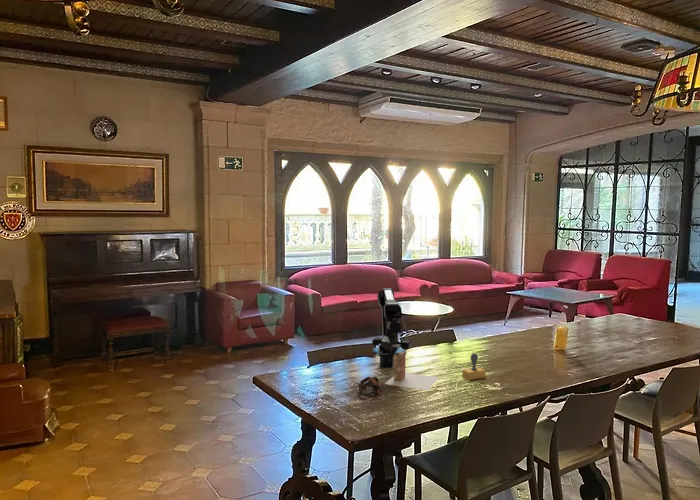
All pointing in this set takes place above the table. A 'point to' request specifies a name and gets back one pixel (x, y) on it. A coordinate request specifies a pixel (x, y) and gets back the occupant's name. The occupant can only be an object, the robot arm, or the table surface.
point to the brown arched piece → (369, 384)
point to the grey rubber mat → (414, 381)
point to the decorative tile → (380, 352)
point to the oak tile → (399, 366)
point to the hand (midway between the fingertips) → (391, 360)
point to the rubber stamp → (473, 370)
